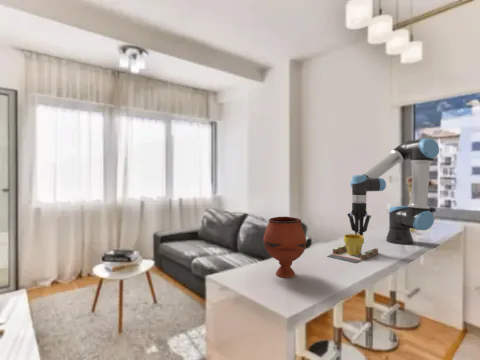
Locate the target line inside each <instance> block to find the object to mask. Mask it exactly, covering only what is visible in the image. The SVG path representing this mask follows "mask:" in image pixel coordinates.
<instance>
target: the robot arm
mask: <svg viewBox="0 0 480 360" xmlns="http://www.w3.org/2000/svg"><path fill="white" fill-rule="evenodd" d="M439 153H440V146H439V144H438V142H436V140H434V139H433V138H430V137H429V138H419V139H414V140H413V139H412V140H410V139H409V140H407V141H404V142H402V143H400V144H399V145H398V146H396V147H394V148H393V149H391V150H390V152H389V154H387V156H385V157H384V158H382V160H380V161H378V163H376V164H374V165H373V166H372V167H370V168H369V169H368V170H367V171H365V172H364V173H362V174H353V175H352V179H351V180H350V187H351V198H352V199H351V201H352V203H351V212H349V213H348V214H347V216H348V219H349V222H350V223H349V224H350V227H351V228H350V229H351V230H352V231H353V232H354V234H357V235H361V236H363V237H364V233H365V232H367V230H368V226H369V222H370V219H371V218H372V215H371V214H369V213H368V211H367V192H382V191H384V190H385V189H386V188H387V182H386V180H385V179H384V178H382V176H383V175H384V174H386V173H387V172H388V171H390V170H391V169H392V168H394V167H395V166H397V165H398V164H402V163H403V162H405V161H408V160H410V163H411V164H412V176H411V186H410V188H411V189H410V203H408V205H397V206H396V205H395V206H390V207H389V212H388V213H389V217H388V218H389V220H388V221H389V225H388V226H389V229H388V232H387V235H386V242H389V243H391V244H397V245H411V244H414V238H413V236H412V233H411V229H413V230H416V231H427V230H429V229H430V228H432V226H433V225H434V223H435V215H434V214H433V213H432V212H431V211H430V210H431V208H430V207H429V206H428V196H429V185H430V184H429V181H430V180H429V179H430V168H431V167H430V166H431V164H432V163H434V158H437V157H438V155H439Z"/></svg>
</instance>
